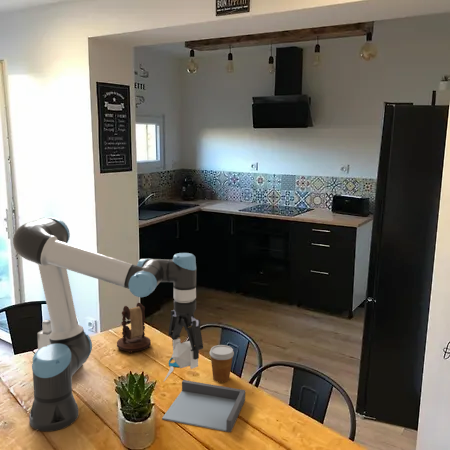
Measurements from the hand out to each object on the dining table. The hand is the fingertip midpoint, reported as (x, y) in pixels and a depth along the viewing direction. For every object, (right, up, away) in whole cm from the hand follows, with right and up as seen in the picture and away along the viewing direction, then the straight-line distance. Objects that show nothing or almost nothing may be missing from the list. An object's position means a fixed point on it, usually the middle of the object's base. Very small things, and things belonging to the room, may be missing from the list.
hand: (185, 361), depth 159 cm
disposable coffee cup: (+12, -13, +21) cm, 28 cm away
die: (0, -1, 0) cm, 1 cm away
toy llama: (-51, -11, +28) cm, 59 cm away
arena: (+7, -16, 0) cm, 18 cm away
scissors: (-8, -12, +28) cm, 31 cm away
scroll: (-27, -8, +48) cm, 55 cm away
